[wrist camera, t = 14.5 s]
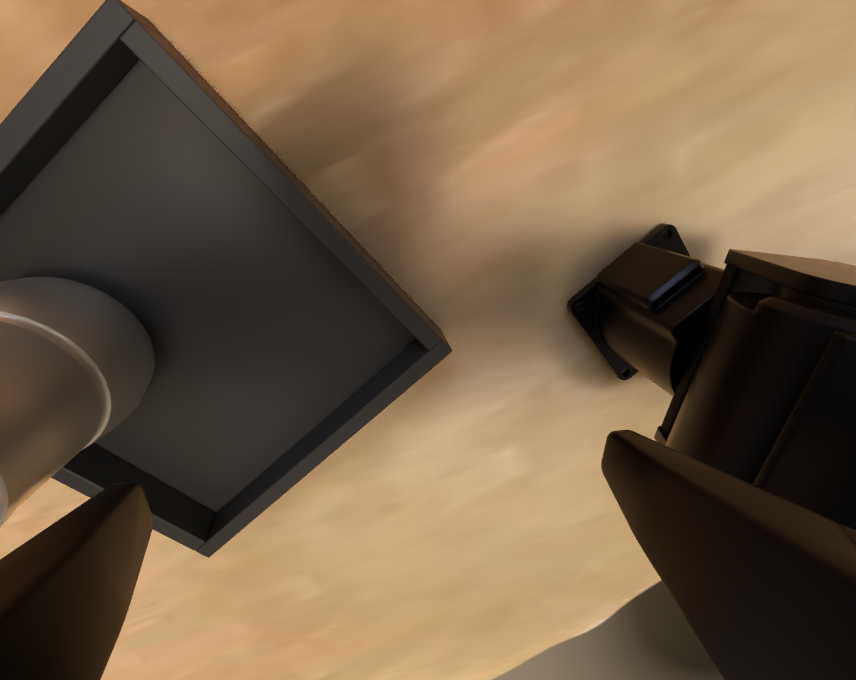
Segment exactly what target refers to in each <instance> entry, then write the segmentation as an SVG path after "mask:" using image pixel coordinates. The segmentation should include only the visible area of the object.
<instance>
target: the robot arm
mask: <svg viewBox="0 0 856 680" xmlns="http://www.w3.org/2000/svg"><path fill="white" fill-rule="evenodd" d="M665 231H666V232H667V233H666V236H665V237H664V238H663V233H664V232H665ZM724 263H725V264H727V265H726V267H725V270H724V269H721V268H717V267H714V266H711V265H707V264H704V263H701V261H700V260H699V259H695V258H692V257H690V255H689V253H688V251H687V249H686V247H685V245H684V243H683V241H682V239H681V237H680V236H679V234H678V232H677V230H676V228H675V227H674V226H673V225H669V224H661V225H659V226H658V227H656V228H655V229H654V230H653V231H652V232H650V233H649V234H648V235H647V236H646V237H644V238H643V239H642V240H641V241H640V242H638V243H635V244H634V245H632V246H631V247H630V248H629V249H628V250H626V251H625V252H624V253H623V254H622V255H620V256H619V257H618V258H617V259H616V260H614V261H613V262H612V263H611V264H610V265H608V266H607V267H606V268H605V269H603V270H602V271H601V272H600V273H599V274H598V275H597V277H596V278H595V279H594V280H592V281H591V282H590V283H589V284H588V285H586V286H585V287H584V288H583V289H582V290H580V291H579V292H578V293H577V294H576V295H574V296H573V297H572V298H571V299H570V300H569V301H568V304H567V309H568V311H569V312H570V314H571V315H572V316H573V318H574V319H575V321H576V322H577V323H578V325H579V326H580V327H581V329H582V330H583V332H584V333H585V334H586V336H587V337H588V338H589V340H590V341H591V342H592V344H593V345H594V347H595V348H596V349H597V351H598V352H599V353H600V355H601V356H602V357H603V359H604V360H605V362H606V363H607V364H608V366H609V367H610V368H611V370H612V371H613V373H614V374H615V375H616V376H617V377H618V378H620V379H621V380H627V379H629V378H631V377H632V376H633V375H634V374H636V373H637V372H638V371H640V372H641V373H642V374H644V375H645V376H646V377H648V378H649V379H650V380H652V381H653V382H654V383H656V384H657V385H659V386H660V387H661V388H663V389H664V390H665V391H667V392H668V393H669V394H671V395H672V396H673V398H672V401H671V403H670V406H669V408H668V411H667V413H666V416H665V418H664V420H663V423H662V425H661V426H659V427H658V429H657V431H656V433H655V436H654V438H655V439H656V441H657V442H656V441H654V440H651V439H649V438H647V437H645V436H642V435H640V434H638V433H636V432H633V431H631V430H620V431H613V432H611V433H609V435H608V436H607V440H606V444H605V449H604V453H603V458H602V463H601V466H602V471H603V474H604V476H605V478H606V480H607V482H608V484H609V486H610V488H611V490H612V492H613V494H614V496H615V498H616V500H617V502H618V504H619V506H620V508H621V510H622V512H623V514H624V516H625V518H626V520H627V522H628V524H629V526H630V528H631V530H632V532H633V534H634V535H635V537H636V539H637V541H638V543H639V544H640V546H641V548H642V549H643V551H644V553H645V554H646V556H647V557H648V559H649V561H650V562H651V564H652V565H653V567H654V568H655V570H656V572H657V573H658V575H659V576H660V578H661V580H662V581H663V583H664V584H665V586H666V588H667V589H668V590H669V592H670V594H671V595H672V597H673V599H674V600H675V602H676V603H677V605H678V607H679V608H680V610H681V611H682V613H683V614H684V616H685V618H686V619H687V621H688V622H689V624H690V626H691V627H692V629H693V631H694V632H695V634H696V635H697V637H698V638H699V640H700V642H701V643H702V645H703V646H704V648H705V649H706V651H707V653H708V654H709V656H710V658H711V659H712V660H713V662H714V664H715V665H716V667H717V669H718V670H719V672H720V673H721V675H722V677H723V678H724V680H856V266H852V265H847V264H842V263H837V262H832V261H827V260H821V259H812V258H804V257H795V256H786V255H777V254H768V253H759V252H751V251H742V250H733V249H729V252H728V254H727V257H726V259H725V262H724ZM578 303H581V304H580V306H579V308H577V309H575V306H576V305H577V304H578ZM625 369H626V370H625ZM624 370H625V372H623V371H624ZM622 372H623V373H622ZM152 528H153V516H152V513H151V510H150V507H149V504H148V501H147V498H146V494H145V491H144V489H143V487H142V485H141V484H140V483H138V482H127V483H117V484H113V485H110V486H108V487H107V488H105V489H104V490H102V491H101V492H99V493H98V494H96V495H95V496H94V497H92V498H91V499H89V500H88V501H86V502H85V503H83V504H82V505H80V506H79V507H77V508H76V509H74V510H73V511H71V512H70V513H68V514H67V515H65V516H64V517H63V518H61V519H60V520H58V521H57V522H55V523H54V524H52V525H51V526H49V527H48V528H46V529H45V530H43V531H42V532H40V533H39V534H37V535H36V536H34V537H33V538H32V539H30V540H29V541H27V542H26V543H24V544H23V545H21V546H20V547H18V548H17V549H15V550H14V551H12V552H11V553H9V554H8V555H6V556H5V557H3V558H2V559H1V560H0V680H100V679H101V677H102V675H103V672H104V670H105V667H106V665H107V662H108V660H109V658H110V655H111V653H112V650H113V648H114V646H115V643H116V641H117V638H118V636H119V633H120V631H121V628H122V626H123V623H124V620H125V617H126V614H127V611H128V608H129V605H130V602H131V599H132V595H133V592H134V589H135V585H136V582H137V579H138V575H139V572H140V569H141V565H142V562H143V559H144V556H145V552H146V549H147V546H148V542H149V539H150V536H151V532H152Z"/></svg>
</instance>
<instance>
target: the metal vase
mask: <svg viewBox="0 0 856 680" xmlns="http://www.w3.org/2000/svg"><path fill="white" fill-rule="evenodd" d="M154 367H155V355H154V350H153V346H152V342H151V339H150V337H149V336H148V334H147V332H146V330H145V328H144V326H143V325H142V324H141V323H140V322H139V320H138V319H137V318H136V317H135V315H134V314H133V313H132V312H130V311H129V310H128V309H127V308H126V307H125V306H124V305H123V304H121V303H120V302H118V301H117V300H115V299H114V298H112V297H111V296H109V295H108V294H106V293H104V292H102V291H100V290H98V289H95V288H93V287H91V286H89V285H86V284H82V283H79V282H76V281H72V280H68V279H61V278H54V277H28V278H21V279H14V280H6V281H0V527H1V526H2V525H3V524H4V523H5V521H6V520H7V519H8V518H9V517H10V516H11V514H12V513H13V512H14V511H15V510H16V509H17V508H18V507H19V506H20V505H21V504H22V503H23V502H24V501H25V500H26V499H28V498H29V497H30V496H31V495H32V494H33V493H34V492H35V491H36V490H38V489H39V488H40V487H41V486H42V485H43V484H44V483H45V482H47V481H48V480H49V479H50V478H51V477H52V476H53V475H54V474H55V473H57V472H58V471H59V470H60V469H61V468H62V467H63V466H64V465H65V464H67V463H68V462H69V461H70V460H71V459H72V458H73V457H74V456H76V455H77V454H78V453H79V452H80V451H81V450H83V449H84V448H86V447H87V446H89V445H91V444H92V443H94V442H95V441H97V440H98V439H100V438H101V437H103V436H104V435H106V434H107V433H108V432H110V431H111V430H112V429H113V428H115V427H116V426H117V425H118V424H119V423H121V422H122V421H123V420H124V419H125V418H127V417H128V416H129V415H130V414H131V413H132V412H133V411H134V410H135V408H136V407H137V406H138V404H139V403H140V401H141V399H142V397H143V395H144V393H145V391H146V389H147V387H148V385H149V383H150V380H151V378H152V375H153V371H154Z"/></svg>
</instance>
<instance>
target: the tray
mask: <svg viewBox="0 0 856 680" xmlns="http://www.w3.org/2000/svg"><path fill="white" fill-rule="evenodd" d="M28 277H54V278H61V279H68V280H72V281H76V282H79V283H82V284H86V285H89V286H91V287H93V288H95V289H98V290H100V291H102V292H104V293H106V294H108V295H109V296H111V297H112V298H114V299H115V300H117V301H118V302H120V303H121V304H123V305H124V306H125V307H126V308H127V309H128V310H129V311H130V312H132V313H133V314H134V315H135V317H136V318H137V319H138V320H139V322H140V323H141V324H142V325H143V326H144V328H145V330H146V332H147V334H148V336H149V337H150V339H151V342H152V346H153V350H154V355H155V367H154V371H153V375H152V378H151V380H150V383H149V385H148V387H147V389H146V391H145V393H144V395H143V397H142V399H141V401H140V403H139V404H138V406H137V407H136V408H135V410H134V411H133V412H132V413H131V414H130V415H129V416H128V417H127V418H125V419H124V420H123V421H122V422H121V423H119V424H118V425H117V426H116V427H115V428H113V429H112V430H111V431H110V432H108V433H107V434H106V435H104V436H103V437H101V438H100V439H98V440H97V441H95V442H94V443H92V444H91V445H89V446H87V447H86V448H84V449H83V450H81V451H80V452H79V453H78V454H77V455H76V456H74V457H73V458H72V459H71V460H70V461H69V462H68V463H67V464H65V465H64V466H63V467H62V468H61V469H60V470H59V471H58V472H57V473H55V474H54V475H53V476H52V477H51V478H53V479H55V480H57V481H59V482H61V483H63V484H65V485H67V486H69V487H71V488H73V489H75V490H77V491H79V492H81V493H83V494H84V495H86V496H88V497H90V498H92V497H94V496H95V495H96V494H98V493H99V492H101V491H102V490H104V489H105V488H107V487H108V486H110V485H113V484H117V483H127V482H138V483H140V484H141V485H142V487H143V489H144V491H145V494H146V498H147V501H148V504H149V507H150V510H151V513H152V516H153V528H152V529H153V530H155V531H157V532H159V533H161V534H163V535H165V536H167V537H169V538H171V539H173V540H175V541H177V542H179V543H181V544H183V545H185V546H187V547H189V548H191V549H193V550H196V551H197V552H198V553H200V554H202V555H204V556H206V557H210V556H211V555H212V554H214V553H215V552H216V551H217V550H218V549H220V548H221V547H222V546H223V545H224V544H225V543H227V542H228V541H229V540H230V539H231V538H233V537H234V536H235V535H236V534H237V533H238V532H240V531H241V530H242V529H243V528H244V527H246V526H247V525H248V524H249V523H250V522H251V521H253V520H254V519H255V518H256V517H257V516H258V515H260V514H261V513H262V512H263V511H264V510H266V509H267V508H268V507H269V506H270V505H271V504H273V503H274V502H275V501H276V500H277V499H279V498H280V497H281V496H282V495H283V494H284V493H286V492H287V491H288V490H289V489H290V488H292V487H293V486H294V485H295V484H296V483H297V482H299V481H300V480H301V479H302V478H303V477H304V476H306V475H307V474H308V473H309V472H310V471H312V470H313V469H314V468H315V467H316V466H317V465H319V464H320V463H321V462H322V461H323V460H325V459H326V458H327V457H328V456H329V455H330V454H332V453H333V452H334V451H335V450H336V449H338V448H339V447H340V446H341V445H342V444H343V443H345V442H346V441H347V440H348V439H349V438H350V437H352V436H353V435H354V434H355V433H356V432H358V431H359V430H360V429H361V428H362V427H363V426H365V425H366V424H367V423H368V422H369V421H371V420H372V419H373V418H374V417H375V416H376V415H378V414H379V413H380V412H381V411H382V410H384V409H385V408H386V407H387V406H388V405H389V404H391V403H392V402H393V401H394V400H395V399H396V398H398V397H399V396H400V395H401V394H402V393H404V392H405V391H406V390H407V389H408V388H409V387H411V386H412V385H413V384H414V383H415V382H417V381H418V380H419V379H420V378H421V377H422V376H424V375H425V374H426V373H427V372H428V371H430V370H431V369H432V368H433V367H434V366H435V365H437V364H438V363H439V362H440V361H441V360H442V359H444V358H445V357H446V356H447V355H448V354H450V353H451V352H452V349H451V347H450V345H449V344H448V342H447V340H446V338H445V336H444V334H443V332H442V331H441V329H440V328H439V327H438V326H437V325H436V324H435V323H434V322H433V321H432V320H431V319H430V318H429V317H428V316H427V315H426V314H425V313H424V311H423V310H422V309H421V308H420V307H419V306H418V305H417V304H416V303H415V302H414V301H413V300H412V299H411V298H410V297H409V296H408V295H407V293H406V292H405V291H404V290H403V289H402V288H401V287H400V286H399V285H398V284H397V283H396V282H395V281H394V280H393V279H392V278H391V277H390V275H389V274H388V273H387V272H386V271H385V270H384V269H383V268H382V267H381V266H380V265H379V264H378V263H377V262H376V261H375V260H374V258H373V257H372V256H371V255H370V254H369V253H368V252H367V251H366V250H365V249H364V248H363V247H362V246H361V245H360V244H359V243H358V242H357V240H356V239H355V238H354V237H353V236H352V235H351V234H350V233H349V232H348V231H347V230H346V229H345V228H344V227H343V226H342V225H341V224H340V222H339V221H338V220H337V219H336V218H335V217H334V216H333V215H332V214H331V213H330V212H329V211H328V210H327V209H326V208H325V207H324V206H323V204H322V203H321V202H320V201H319V200H318V199H317V198H316V197H315V196H314V195H313V194H312V193H311V192H310V191H309V190H308V189H307V187H306V186H305V185H304V184H303V183H302V182H301V181H300V180H299V179H298V178H297V177H296V176H295V175H294V174H293V173H292V172H291V171H290V169H289V168H288V167H287V166H286V165H285V164H284V163H283V162H282V161H281V160H280V159H279V158H278V157H277V156H276V155H275V154H274V153H273V151H272V150H271V149H270V148H269V147H268V146H267V145H266V144H265V143H264V142H263V141H262V140H261V139H260V138H259V137H258V136H257V135H256V133H255V132H254V131H253V130H252V129H251V128H250V127H249V126H248V125H247V124H246V123H245V122H244V121H243V120H242V119H241V118H240V116H239V115H238V114H237V113H236V112H235V111H234V110H233V109H232V108H231V107H230V106H229V105H228V104H227V103H226V102H225V101H224V100H223V98H222V97H221V96H220V95H219V94H218V93H217V92H216V91H215V90H214V89H213V88H212V87H211V86H210V85H209V84H208V83H207V82H206V80H205V79H204V78H203V77H202V76H201V75H200V74H199V73H198V72H197V71H196V70H195V69H194V68H193V67H192V66H191V65H190V63H189V62H188V61H187V60H186V59H185V58H184V57H183V56H182V55H181V54H180V53H179V52H178V51H177V50H176V49H175V48H174V47H173V45H172V44H171V43H170V42H169V41H168V40H167V39H166V38H165V37H164V36H163V35H162V34H161V33H160V32H159V31H158V30H157V29H156V27H155V26H154V25H153V24H152V23H151V22H150V21H149V20H148V19H147V18H145V17H144V16H143V15H141V14H139V13H138V12H136V11H135V10H134V9H132V8H131V7H129V6H128V5H126V4H125V3H123V2H122V1H121V0H106V1H105V2H104V3H103V4H102V6H101V7H100V8H99V9H98V10H97V11H96V13H95V14H94V15H93V16H92V17H91V18H90V20H89V21H88V22H87V23H86V24H85V25H84V27H83V28H82V29H81V30H80V31H79V33H78V34H77V35H76V36H75V37H74V38H73V40H72V41H71V42H70V43H69V44H68V45H67V47H66V48H65V49H64V50H63V51H62V52H61V54H60V55H59V56H58V57H57V58H56V60H55V61H54V62H53V63H52V64H51V65H50V67H49V68H48V69H47V70H46V71H45V72H44V74H43V75H42V76H41V77H40V78H39V80H38V81H37V82H36V83H35V84H34V85H33V87H32V88H31V89H30V90H29V91H28V92H27V94H26V95H25V96H24V97H23V98H22V99H21V101H20V102H19V103H18V104H17V105H16V107H15V108H14V109H13V110H12V111H11V112H10V114H9V115H8V116H7V117H6V118H5V119H4V121H3V122H2V123H1V124H0V281H6V280H14V279H21V278H28Z"/></svg>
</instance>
